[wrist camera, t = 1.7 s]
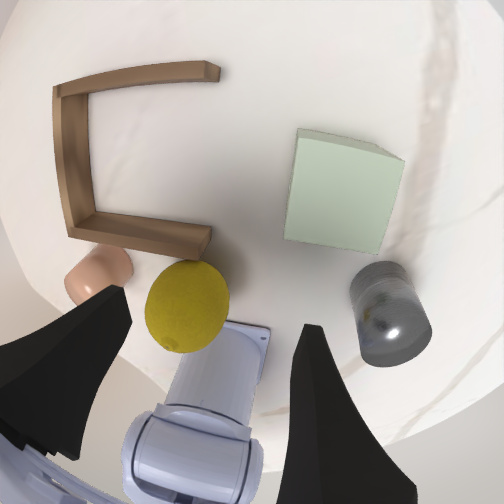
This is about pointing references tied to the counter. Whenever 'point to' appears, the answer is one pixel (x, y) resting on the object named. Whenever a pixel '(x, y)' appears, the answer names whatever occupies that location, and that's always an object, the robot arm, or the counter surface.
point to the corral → (79, 175)
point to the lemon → (187, 306)
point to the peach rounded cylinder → (98, 272)
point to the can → (388, 315)
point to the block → (340, 192)
